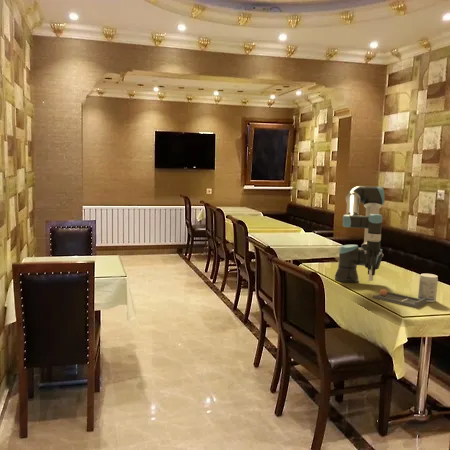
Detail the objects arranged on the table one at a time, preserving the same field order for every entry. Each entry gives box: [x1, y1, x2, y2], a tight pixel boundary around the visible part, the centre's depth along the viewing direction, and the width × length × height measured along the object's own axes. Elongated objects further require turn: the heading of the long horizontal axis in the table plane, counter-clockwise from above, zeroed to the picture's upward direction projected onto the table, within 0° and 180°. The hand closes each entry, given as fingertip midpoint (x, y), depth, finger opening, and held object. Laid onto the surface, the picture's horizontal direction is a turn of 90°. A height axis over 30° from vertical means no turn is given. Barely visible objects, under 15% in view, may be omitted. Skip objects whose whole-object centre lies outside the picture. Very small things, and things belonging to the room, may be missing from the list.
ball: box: [379, 288, 388, 296], centre depth 276 cm, size 4×4×4 cm
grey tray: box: [372, 291, 427, 309], centre depth 270 cm, size 25×14×3 cm, turn 46°
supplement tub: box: [417, 273, 439, 303], centre depth 271 cm, size 10×10×15 cm
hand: (370, 280), depth 280 cm, fingers closed
